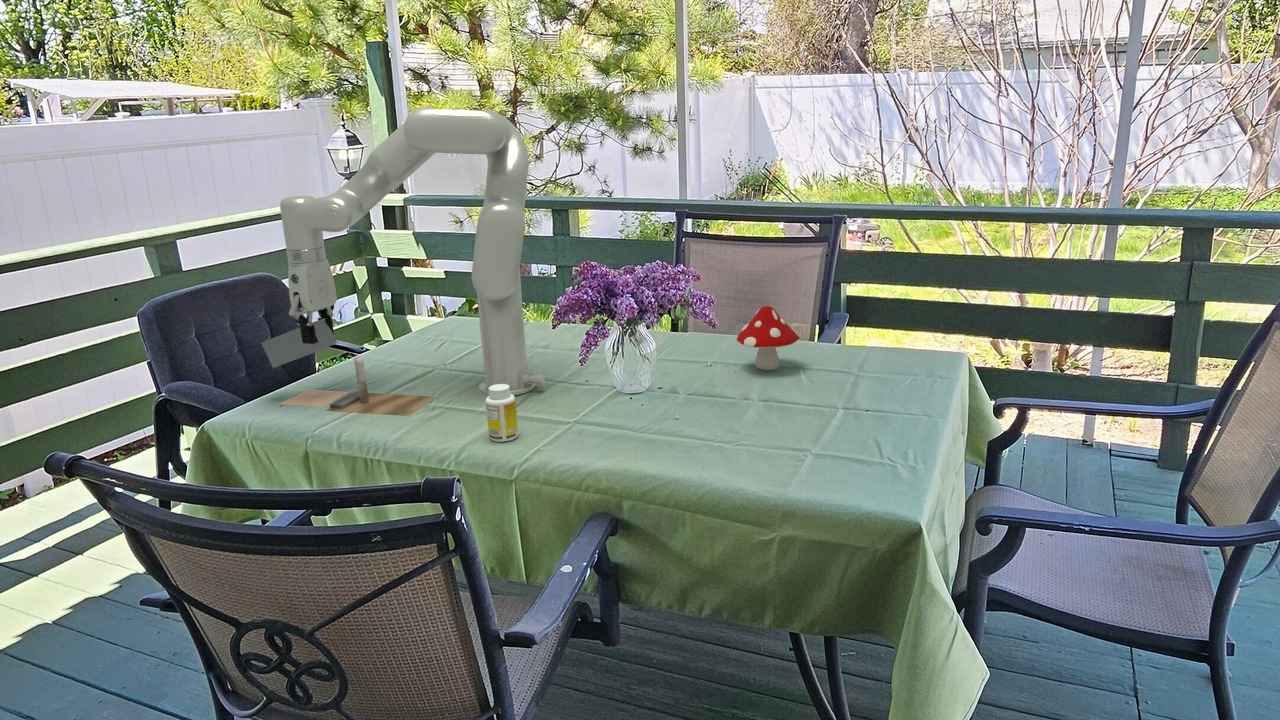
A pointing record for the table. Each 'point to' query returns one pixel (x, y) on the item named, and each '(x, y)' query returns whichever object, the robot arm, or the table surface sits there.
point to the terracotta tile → (314, 398)
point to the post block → (377, 399)
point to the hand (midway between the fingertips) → (318, 338)
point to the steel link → (297, 344)
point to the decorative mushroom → (767, 337)
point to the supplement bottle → (501, 413)
